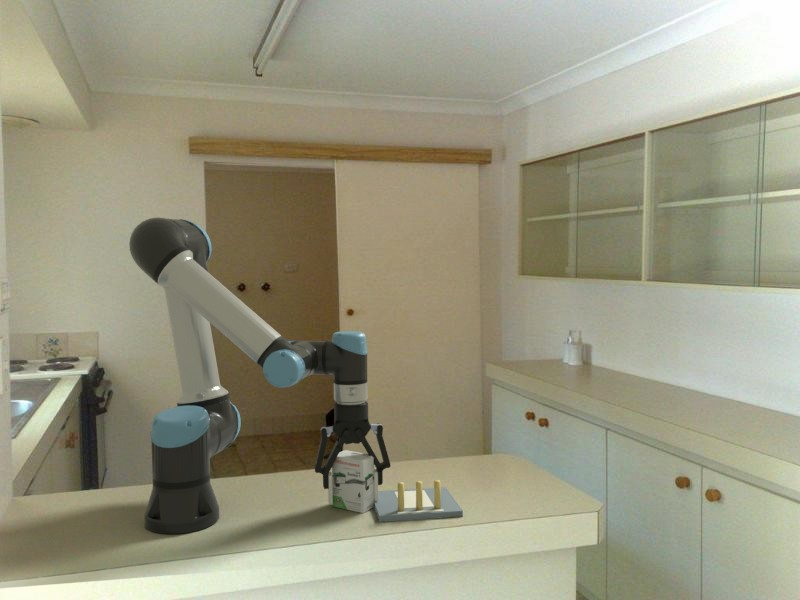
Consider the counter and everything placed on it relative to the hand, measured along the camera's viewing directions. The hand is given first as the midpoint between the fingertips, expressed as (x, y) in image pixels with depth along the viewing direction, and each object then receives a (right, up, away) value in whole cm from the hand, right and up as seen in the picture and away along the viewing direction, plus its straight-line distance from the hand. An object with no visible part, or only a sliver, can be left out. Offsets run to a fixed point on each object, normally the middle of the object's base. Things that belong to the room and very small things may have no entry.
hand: (353, 500), depth 160 cm
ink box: (0, -2, 0) cm, 2 cm away
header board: (+14, -1, 0) cm, 14 cm away
